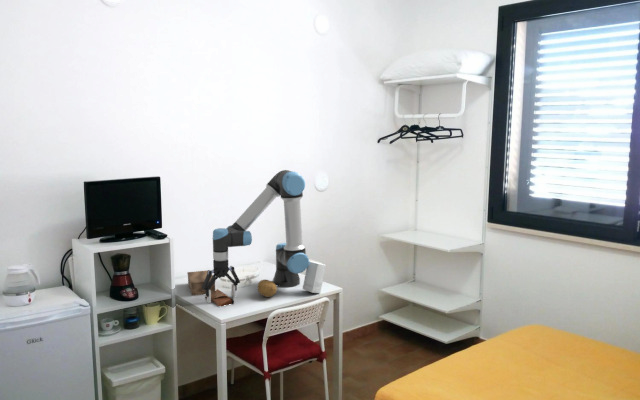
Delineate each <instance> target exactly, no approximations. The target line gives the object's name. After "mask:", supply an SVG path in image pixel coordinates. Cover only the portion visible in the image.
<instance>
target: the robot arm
mask: <svg viewBox="0 0 640 400" xmlns="http://www.w3.org/2000/svg"><path fill="white" fill-rule="evenodd" d="M265 187H266V188H265V189H264V190H263V191H262V192H261V193H260V194H259V195H258V196H257V197H256V198H255V199H254V200H253V202H252V203H251V204H250V205H249V206H248V207H247V208H246V210H245V211H244V212H243V213H242V214H241V215H240V216H239V217H238V218H237V219H236V220H235V221H234V223H232V225H229V226H227V227H226V228H221V227H218V228H215V229H213V231H212V259H213V260H212V261H213V262H212V263H213V267H212V270H210V269H208V271H207V270H206V271H207V276H206V278H205V281H204V283H203V285H202V289H203V290H205V293H206V294H205V297H207V298H206V299H207V300H206V301H207V303H209V304H211V303H212V301H211V290H209V289H210V288H211V286H212V285H213V283H214V282H215V283H216V281H217V280H218V279H221V278H225V277H226V278H227V279H228V280H229V281H230V282H231V298H232V299H233V298H234V299H235V298H236V291H237V289H238V287H237V286H238V284H241V280H240V279H239V277H238V275H237V273H236V271H235V267H234V266H232V265H230V266H229V248H234V247H246V246H250V245H252V242H253V236H252V232H251V231H249V230H248V229H249V228H250V227H251V225H253V223H254V222H256V220H258V218H259V217H260V216H261V215H262V214H263V213H264V212H265V211H266V209H267V208H268V207H269V206H270V205H271V204H272V203H273V201H274V200H275V199H276V198H278V197H279V198H280V199H281V200H283V208H284V228H285V229H284V230H285V242H281V243H277V244H276V245H275V273H274V275H273V279H272V282H274V283H275V285H276V287H280V288H281V287H282V288H290V287H292V288H293V287H296V286H298V285H300V282H301V279H300V276H299V274H301V273H303V272H306V269H307V267H308V265H309V261H310V260H309V259H310V258H309V257H308V255H307V252H306V246H305V244H303V235H302V233H303V231H302V212H301V211H302V210H301V199H302V198H303V196H304V195H303V192H304V191H305V188H306V181H305V178H304V177H303V176H302V174H300V173H298V172H296V171H292V170H287V169H283V170H281V171H279V172H277V173H276V174H275V175H273V177H272V178H271V179H270V180H269V181H268V182H267V184H266V185H265ZM229 272H230V273H231V275H232V276H231V275H230V274H229ZM211 275H213V276H212V279H211V280H210V278H211ZM209 280H210V281H209Z"/></svg>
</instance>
